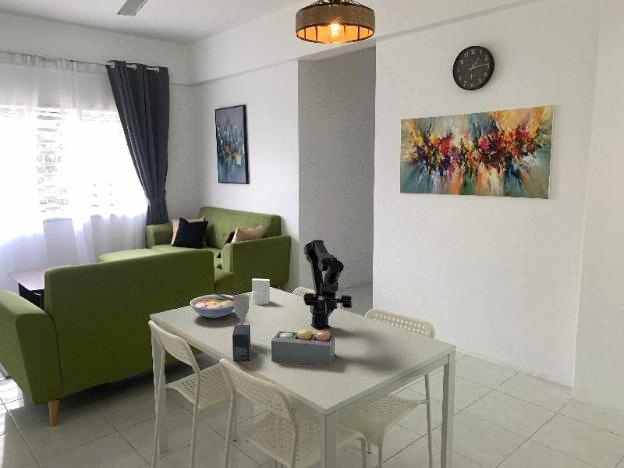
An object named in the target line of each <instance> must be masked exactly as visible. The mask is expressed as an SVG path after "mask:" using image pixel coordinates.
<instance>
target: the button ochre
mask: <svg viewBox="0 0 624 468" xmlns="http://www.w3.org/2000/svg"><path fill="white" fill-rule="evenodd" d="M297 332H298V339H302V340H311V333H312V330H311V329H308V328H303V329H299V330H298V329H297Z"/></svg>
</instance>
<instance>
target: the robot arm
mask: <svg viewBox="0 0 624 468" xmlns="http://www.w3.org/2000/svg"><path fill="white" fill-rule="evenodd" d="M303 254H304V255H305V260H306V261H307V262H308V263H309V264H310V270H311V276H312V284H313V289H314V293H313V292H305V293H304V295H303V301H304V305H305V306H310V307H309V311H310V313H311V315H312V316H311V324H310V326H312V327H314V329H317V330H322V329H328V328H331V325H329V318H330V316H331V314H332V313H333V312H334V311H335V310H337V309H338V304H342V305H341V307H343V309H352V308H353V297H352V295H350V294H348V295H347V294H341V296H340V297H337V292H338V291H339V287H340V284H339V278H340V277H341V275H342V273H343V271H344V266H345V265H344V263H343V262H342V261H340V260H338V257H335V255H334V254H331V253H330V252H329V251H328V249H327V247H326V245H325V243H324V239H313V240H311V241H310V242H308V243H306V244H305V245H304V247H303ZM323 272H325V273H324V277H323Z"/></svg>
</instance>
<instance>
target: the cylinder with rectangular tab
mask: <svg viewBox="0 0 624 468" xmlns="http://www.w3.org/2000/svg"><path fill="white" fill-rule="evenodd" d="M270 281H271V279H267V278H252V279H251V286H252V287H251V290H252V291H251V293H252V296H251V299H252V300H251V301H252V304H254V305H261V306H262V305H268V304H269V303H270V302H271V298H270V297H271V296H270V295H271V293H270V292H271V291H270V290H271V286H270Z"/></svg>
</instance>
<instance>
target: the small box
mask: <svg viewBox="0 0 624 468" xmlns="http://www.w3.org/2000/svg"><path fill="white" fill-rule="evenodd" d="M231 338H232V339H231V340H232V341H231V342H232V343H231V344H232V362H248V361H251V354H252V343H251V342H252V341H251V340H252V339H251V324H243V325H241V324H234V326H233V330H232V337H231Z"/></svg>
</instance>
